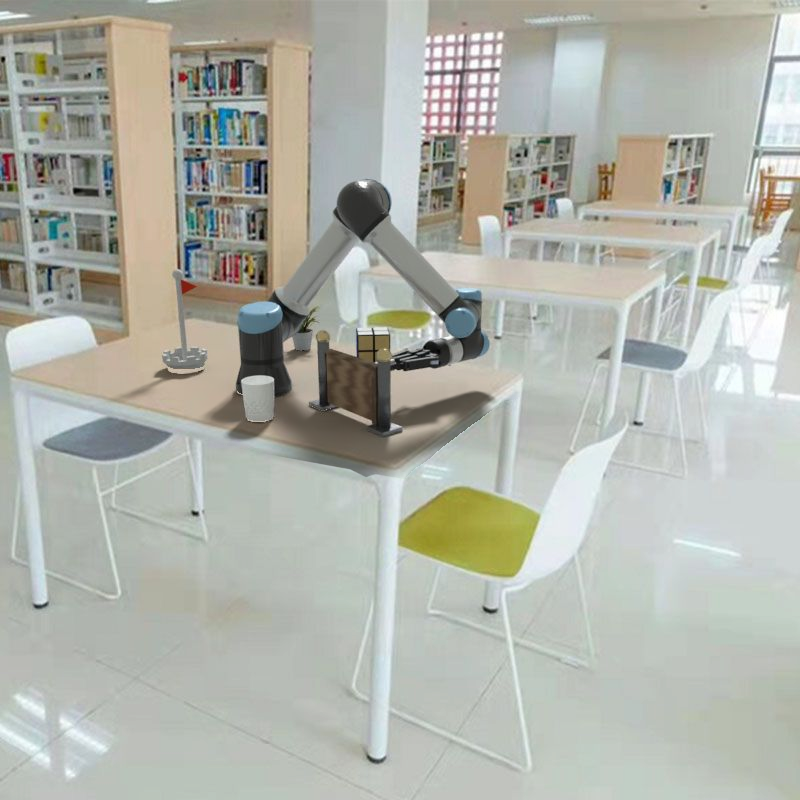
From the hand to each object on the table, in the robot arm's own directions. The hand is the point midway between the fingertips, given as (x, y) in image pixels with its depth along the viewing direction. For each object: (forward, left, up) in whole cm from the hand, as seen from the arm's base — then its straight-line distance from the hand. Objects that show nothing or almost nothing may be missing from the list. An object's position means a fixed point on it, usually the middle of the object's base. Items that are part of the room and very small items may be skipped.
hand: (373, 369), depth 190 cm
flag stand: (-69, +13, -12) cm, 71 cm away
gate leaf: (-3, -5, -10) cm, 12 cm away
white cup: (-24, -15, -12) cm, 31 cm away
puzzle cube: (-21, +43, -12) cm, 49 cm away
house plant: (-48, +47, -12) cm, 68 cm away
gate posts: (-3, -5, -11) cm, 13 cm away
